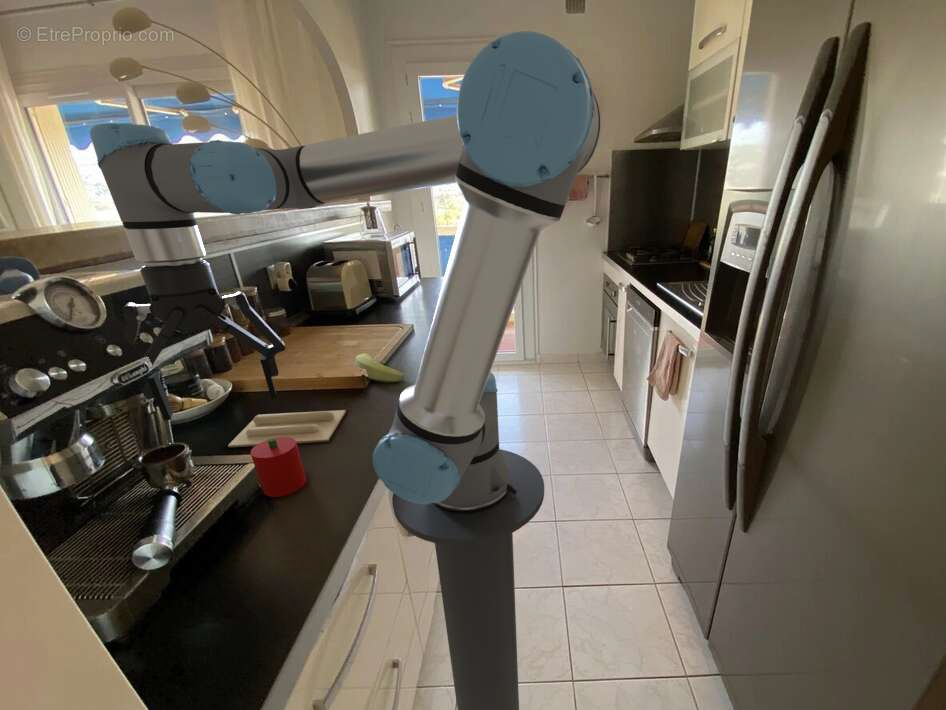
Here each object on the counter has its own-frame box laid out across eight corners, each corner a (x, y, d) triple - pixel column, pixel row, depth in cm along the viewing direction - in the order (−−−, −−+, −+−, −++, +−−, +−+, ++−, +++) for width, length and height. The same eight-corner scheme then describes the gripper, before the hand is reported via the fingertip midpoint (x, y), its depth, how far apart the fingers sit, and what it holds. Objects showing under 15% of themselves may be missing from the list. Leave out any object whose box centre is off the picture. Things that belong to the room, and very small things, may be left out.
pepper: (312, 472, 84) (300, 428, 80) (298, 495, 78) (284, 449, 73) (273, 475, 83) (259, 431, 79) (256, 498, 77) (240, 452, 73)
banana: (351, 361, 117) (358, 347, 135) (349, 381, 118) (356, 364, 136) (405, 369, 121) (405, 354, 139) (402, 388, 122) (402, 371, 141)
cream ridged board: (346, 411, 107) (344, 402, 106) (328, 441, 94) (325, 431, 93) (258, 416, 105) (255, 407, 104) (228, 447, 92) (224, 437, 91)
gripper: (277, 251, 68) (309, 380, 77) (55, 266, 56) (124, 416, 65) (281, 257, 62) (315, 395, 71) (34, 275, 50) (112, 438, 59)
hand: (223, 405), depth 68 cm, fingers open, 13 cm apart
